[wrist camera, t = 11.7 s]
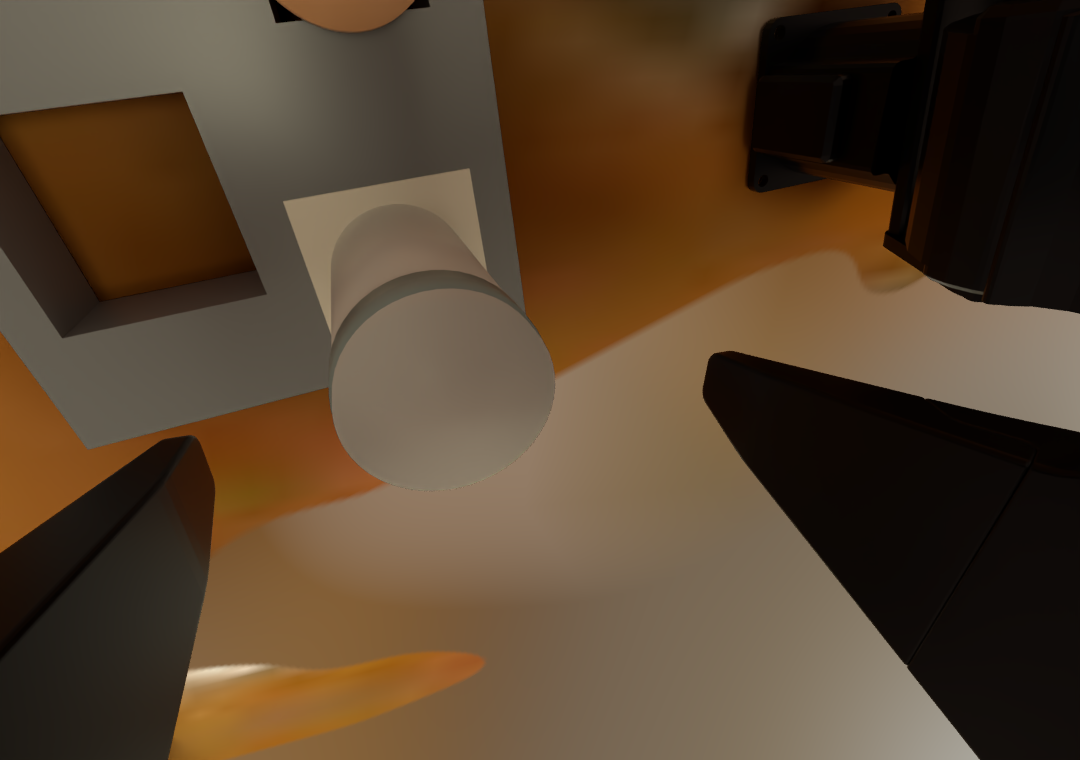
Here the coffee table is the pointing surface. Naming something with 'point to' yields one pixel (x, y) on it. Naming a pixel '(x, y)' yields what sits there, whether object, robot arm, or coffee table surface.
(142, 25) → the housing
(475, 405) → the cylinder
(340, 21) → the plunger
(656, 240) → the coffee table surface
